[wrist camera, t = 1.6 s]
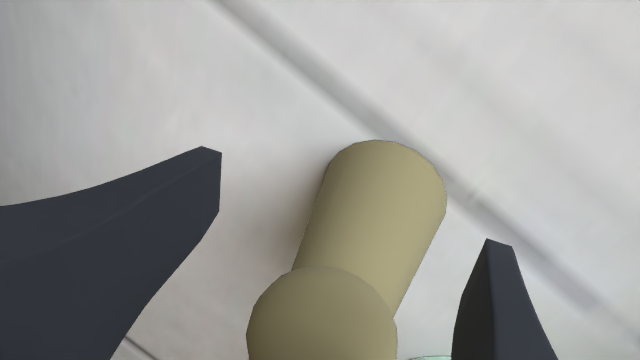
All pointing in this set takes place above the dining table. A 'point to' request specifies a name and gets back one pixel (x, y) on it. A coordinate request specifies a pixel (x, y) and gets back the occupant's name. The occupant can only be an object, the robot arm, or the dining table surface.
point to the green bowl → (434, 358)
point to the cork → (352, 259)
